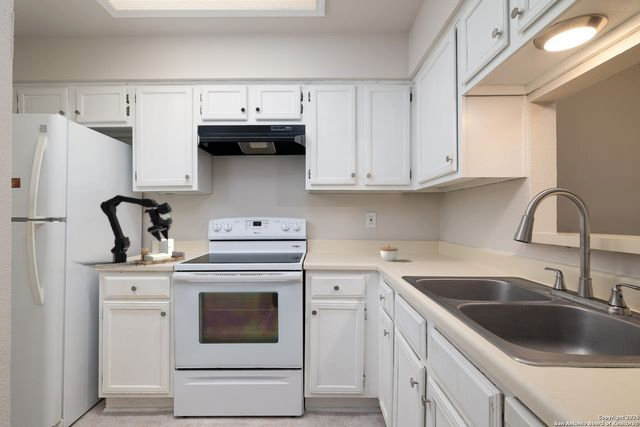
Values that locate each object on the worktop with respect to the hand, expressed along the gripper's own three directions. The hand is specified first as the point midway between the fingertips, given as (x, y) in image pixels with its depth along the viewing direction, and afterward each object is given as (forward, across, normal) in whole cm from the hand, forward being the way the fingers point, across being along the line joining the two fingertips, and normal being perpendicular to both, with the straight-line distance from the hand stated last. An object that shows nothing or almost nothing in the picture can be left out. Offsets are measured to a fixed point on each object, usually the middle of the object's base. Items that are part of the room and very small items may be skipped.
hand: (164, 240), depth 195 cm
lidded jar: (+61, -8, -130) cm, 144 cm away
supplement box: (+11, +18, +12) cm, 24 cm away
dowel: (+8, +5, +19) cm, 21 cm away
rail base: (+12, -2, +6) cm, 14 cm away
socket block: (+11, -3, +7) cm, 13 cm away
